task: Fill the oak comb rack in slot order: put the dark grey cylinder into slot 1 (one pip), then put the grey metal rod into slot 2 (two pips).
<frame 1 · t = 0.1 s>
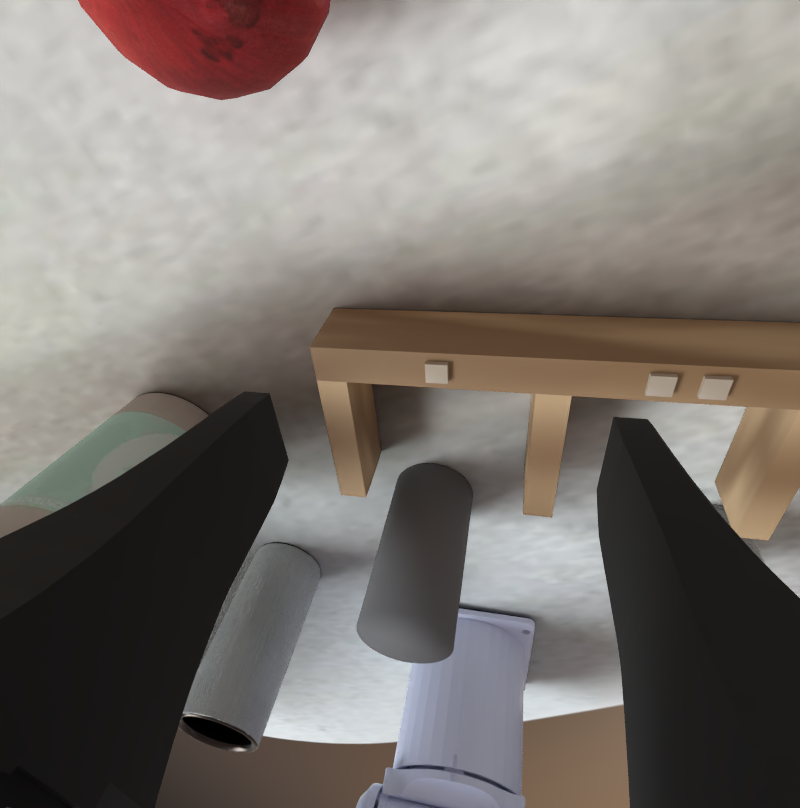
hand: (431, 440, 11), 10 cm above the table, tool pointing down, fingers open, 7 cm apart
rack: (545, 399, 22), on the table
dark grey cylinder: (434, 491, 27), on the table
coffee cup: (180, 431, 29), on the table
grey tubular piece: (289, 560, 34), on the table
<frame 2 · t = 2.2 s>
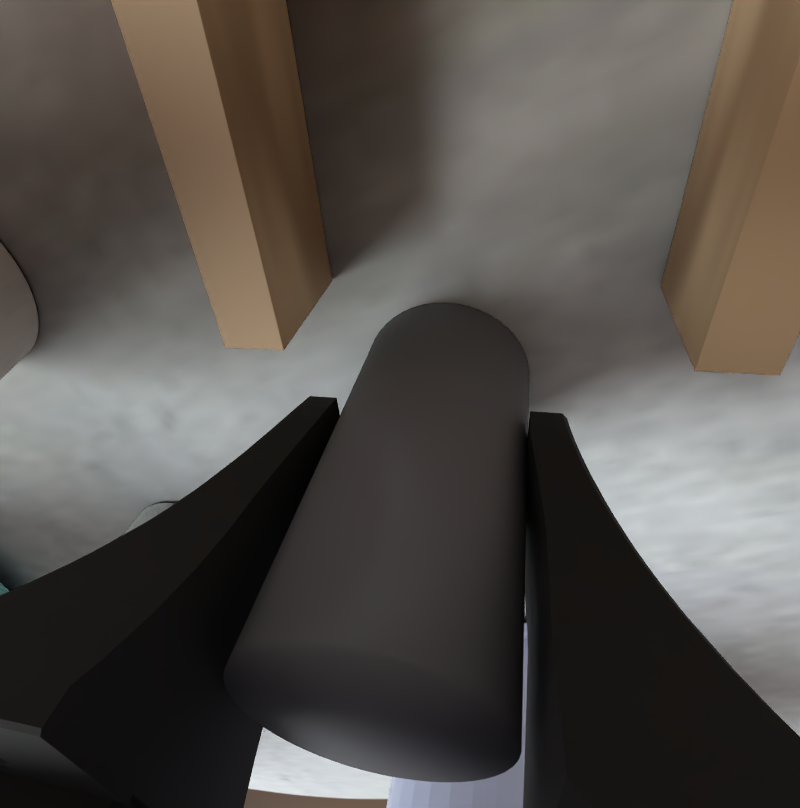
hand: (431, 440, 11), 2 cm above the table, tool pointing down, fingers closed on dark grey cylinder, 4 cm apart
rack: (764, 46, 8), on the table
dark grey cylinder: (446, 375, 13), on the table, touching gripper
grey tubular piece: (197, 535, 20), on the table
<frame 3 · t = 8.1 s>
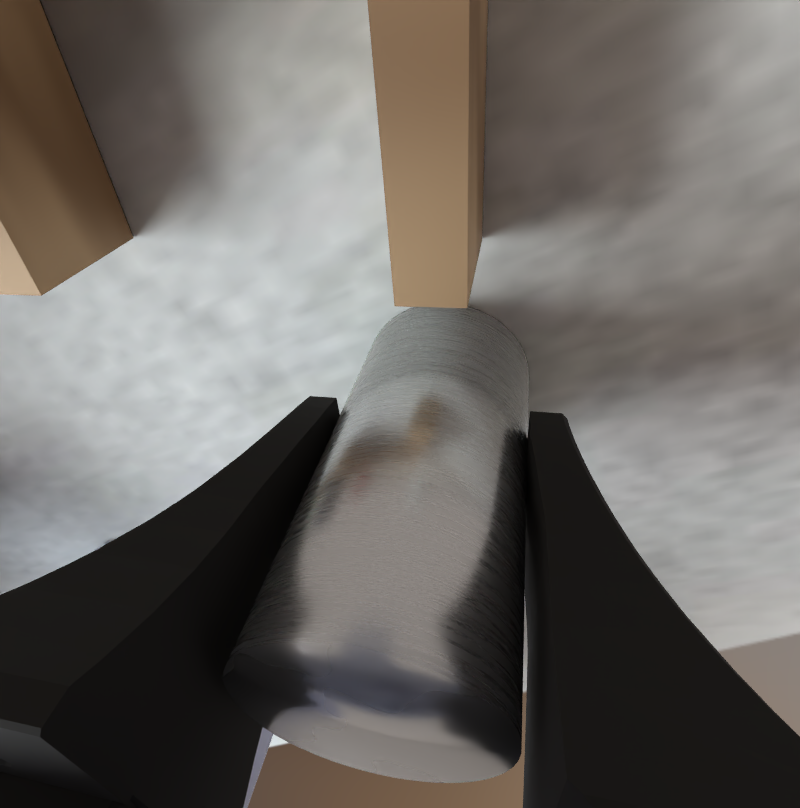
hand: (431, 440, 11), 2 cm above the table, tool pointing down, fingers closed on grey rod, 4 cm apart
grey rod: (446, 375, 13), on the table, touching gripper
rack: (25, 33, 10), on the table
when the fingers open (4 cm above the table, at t = 10.9 s): grey rod stays where it is, on the table.
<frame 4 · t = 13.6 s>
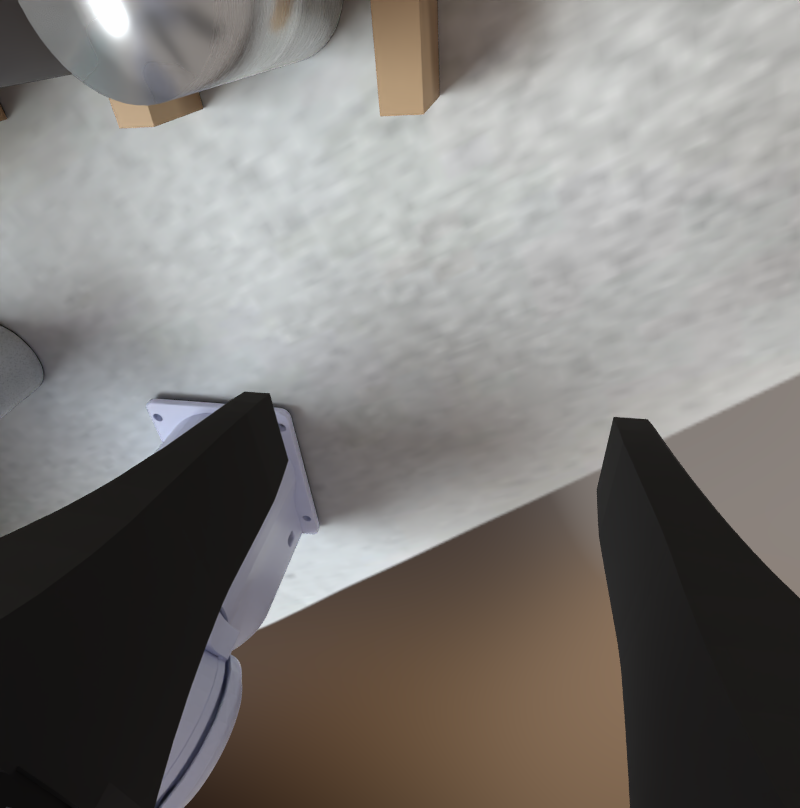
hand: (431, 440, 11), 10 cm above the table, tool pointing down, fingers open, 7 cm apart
dark grey cylinder: (41, 1, 17), on the table
grey tubular piece: (7, 353, 28), on the table
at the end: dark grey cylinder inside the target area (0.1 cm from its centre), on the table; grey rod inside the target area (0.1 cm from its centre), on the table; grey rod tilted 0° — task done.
